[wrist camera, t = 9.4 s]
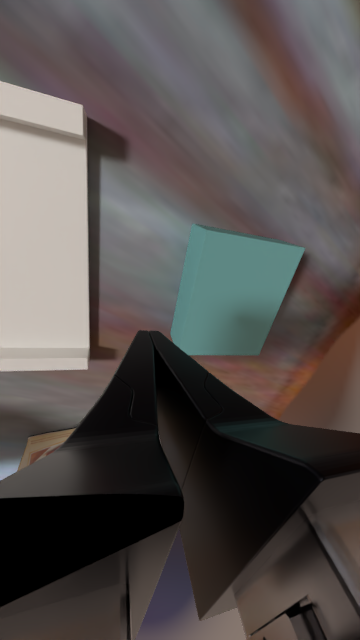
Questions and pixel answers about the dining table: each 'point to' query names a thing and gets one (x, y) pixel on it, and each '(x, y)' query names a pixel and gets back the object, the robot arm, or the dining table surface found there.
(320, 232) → the dining table surface
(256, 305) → the teal rectangular block
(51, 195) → the tray
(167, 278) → the dining table surface
